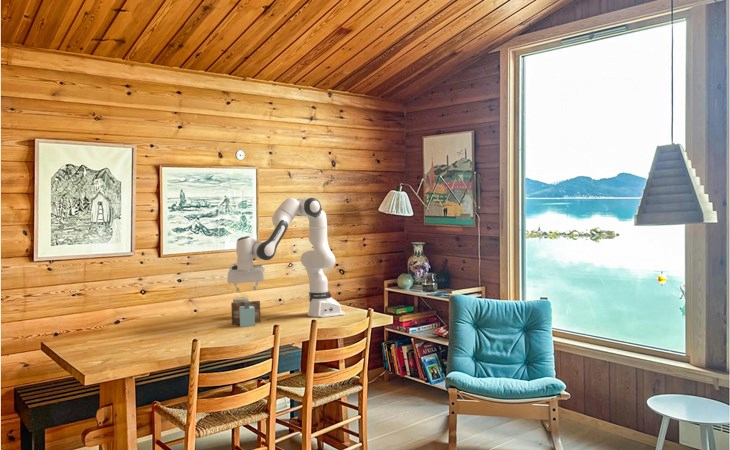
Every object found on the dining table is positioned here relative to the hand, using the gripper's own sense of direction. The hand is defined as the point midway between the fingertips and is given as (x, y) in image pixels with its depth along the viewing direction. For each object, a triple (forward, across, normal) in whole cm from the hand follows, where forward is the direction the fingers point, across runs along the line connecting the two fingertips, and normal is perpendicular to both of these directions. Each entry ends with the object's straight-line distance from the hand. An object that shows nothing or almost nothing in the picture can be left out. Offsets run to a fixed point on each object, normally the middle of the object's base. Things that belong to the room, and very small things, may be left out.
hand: (246, 290), depth 327 cm
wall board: (+20, +1, -7) cm, 21 cm away
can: (+20, +3, -27) cm, 34 cm away
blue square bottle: (+20, 0, -2) cm, 20 cm away
